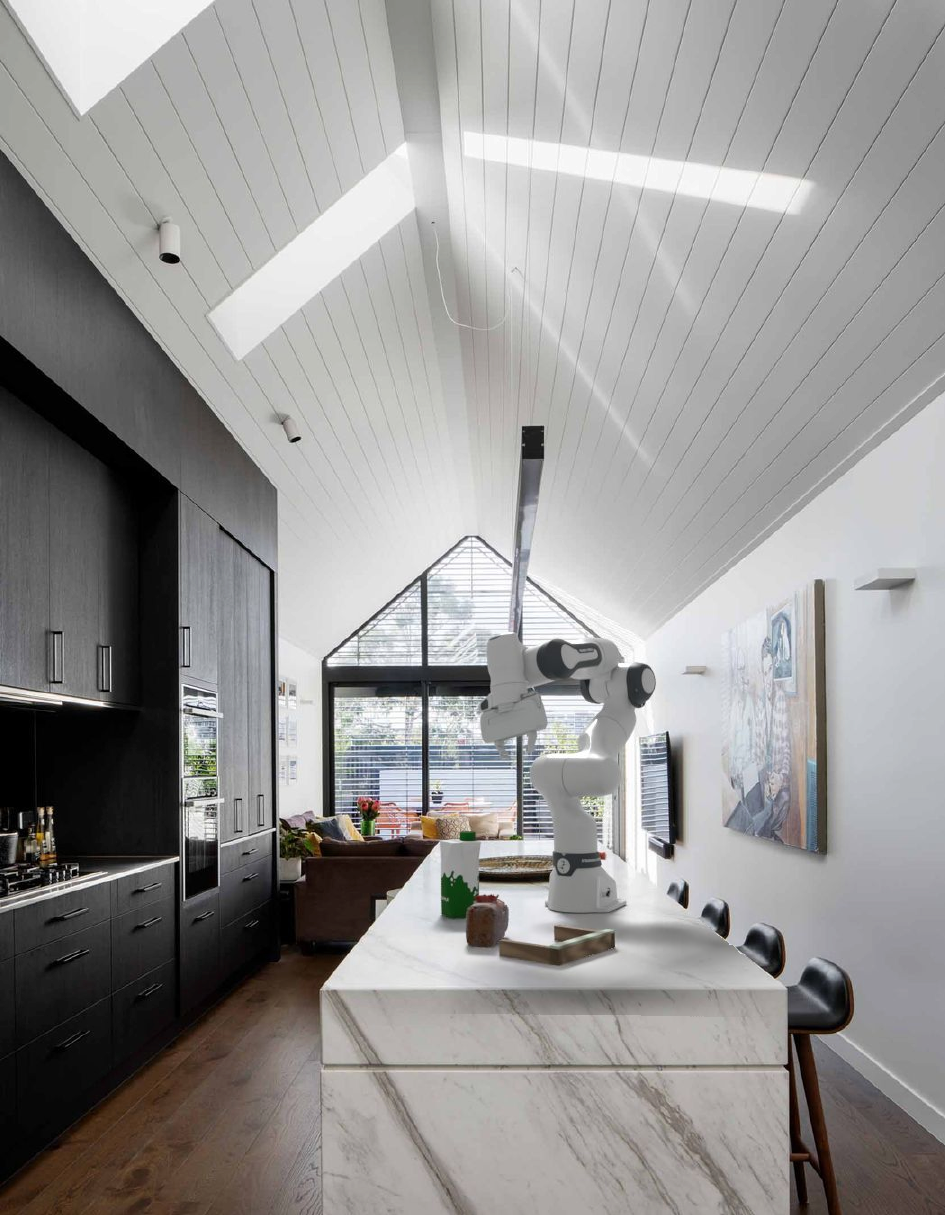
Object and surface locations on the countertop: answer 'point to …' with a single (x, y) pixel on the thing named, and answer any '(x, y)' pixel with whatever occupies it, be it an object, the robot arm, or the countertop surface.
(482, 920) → the food item
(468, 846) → the milk carton
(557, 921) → the countertop surface
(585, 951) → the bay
